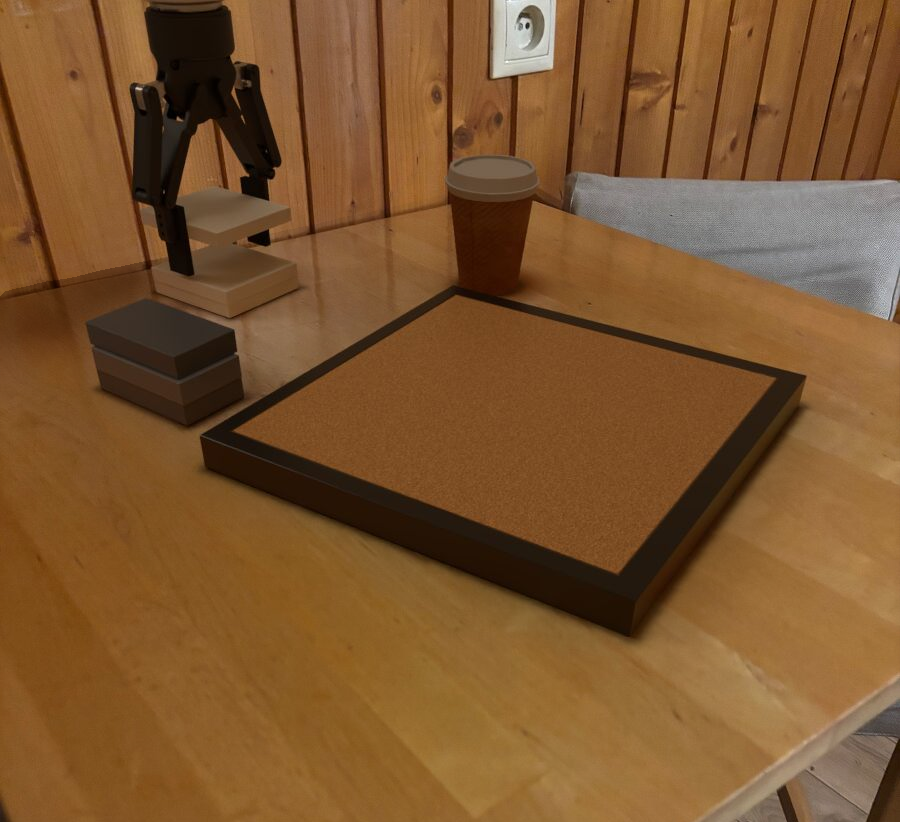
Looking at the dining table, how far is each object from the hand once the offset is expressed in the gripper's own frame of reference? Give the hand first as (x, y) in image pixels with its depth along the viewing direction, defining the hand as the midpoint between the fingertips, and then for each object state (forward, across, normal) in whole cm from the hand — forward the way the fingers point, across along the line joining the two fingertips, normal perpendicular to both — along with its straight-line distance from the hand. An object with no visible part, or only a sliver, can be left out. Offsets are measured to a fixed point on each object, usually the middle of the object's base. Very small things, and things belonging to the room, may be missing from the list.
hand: (222, 257), depth 97 cm
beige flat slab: (-4, 0, 0) cm, 4 cm away
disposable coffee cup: (+4, +18, -21) cm, 28 cm away
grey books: (+3, -19, -13) cm, 23 cm away
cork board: (+3, -7, -41) cm, 42 cm away
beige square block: (+3, 0, 0) cm, 3 cm away
